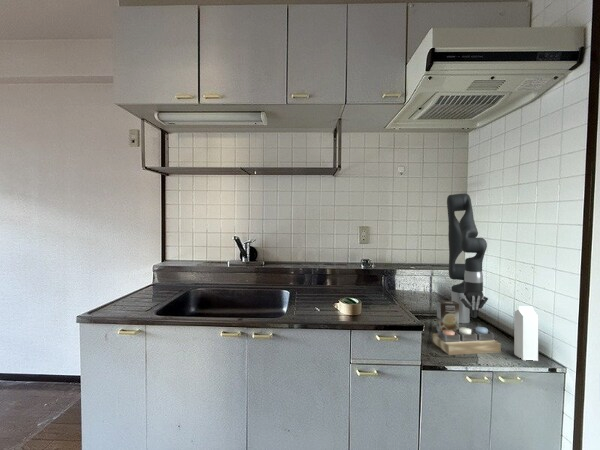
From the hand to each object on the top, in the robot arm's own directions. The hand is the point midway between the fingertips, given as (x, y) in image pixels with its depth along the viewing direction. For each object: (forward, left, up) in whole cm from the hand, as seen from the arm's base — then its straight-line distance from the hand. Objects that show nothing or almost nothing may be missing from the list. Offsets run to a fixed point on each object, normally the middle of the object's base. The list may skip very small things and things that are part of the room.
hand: (473, 317), depth 140 cm
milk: (+13, +14, -14) cm, 24 cm away
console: (+1, -5, -14) cm, 14 cm away
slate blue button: (+1, +3, -8) cm, 9 cm away
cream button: (+1, -5, -8) cm, 9 cm away
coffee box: (-17, -3, -14) cm, 22 cm away
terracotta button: (+1, -13, -9) cm, 15 cm away
